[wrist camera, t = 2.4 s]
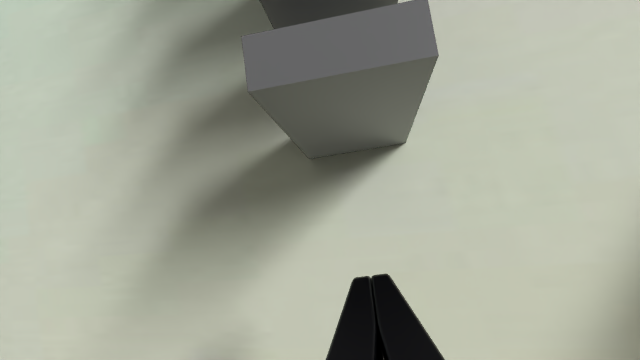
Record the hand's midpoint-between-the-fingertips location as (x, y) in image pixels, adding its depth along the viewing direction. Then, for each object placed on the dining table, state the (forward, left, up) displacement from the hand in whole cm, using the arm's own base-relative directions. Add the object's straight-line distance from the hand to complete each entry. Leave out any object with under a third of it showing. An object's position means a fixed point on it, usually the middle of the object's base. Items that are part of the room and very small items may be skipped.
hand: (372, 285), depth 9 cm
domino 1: (+3, +5, -10) cm, 12 cm away
